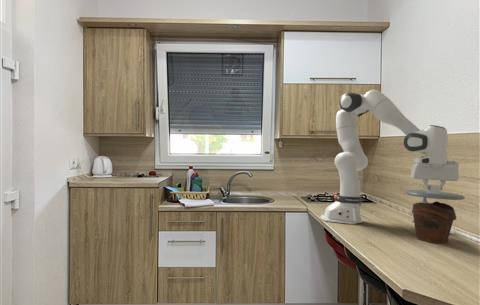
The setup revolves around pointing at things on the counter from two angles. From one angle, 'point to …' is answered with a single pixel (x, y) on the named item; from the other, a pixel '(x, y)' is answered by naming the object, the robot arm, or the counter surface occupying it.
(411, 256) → the counter surface
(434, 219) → the brown tapered pot
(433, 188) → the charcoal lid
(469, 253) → the counter surface
